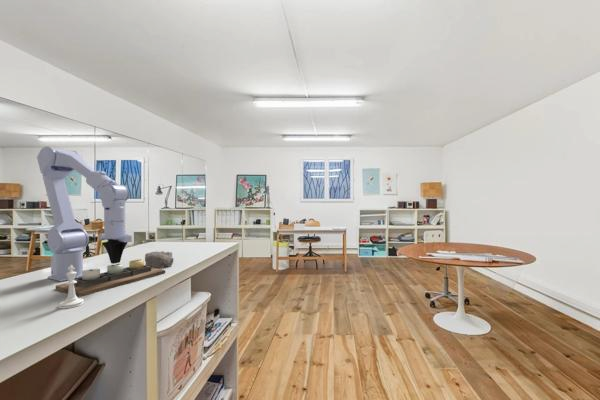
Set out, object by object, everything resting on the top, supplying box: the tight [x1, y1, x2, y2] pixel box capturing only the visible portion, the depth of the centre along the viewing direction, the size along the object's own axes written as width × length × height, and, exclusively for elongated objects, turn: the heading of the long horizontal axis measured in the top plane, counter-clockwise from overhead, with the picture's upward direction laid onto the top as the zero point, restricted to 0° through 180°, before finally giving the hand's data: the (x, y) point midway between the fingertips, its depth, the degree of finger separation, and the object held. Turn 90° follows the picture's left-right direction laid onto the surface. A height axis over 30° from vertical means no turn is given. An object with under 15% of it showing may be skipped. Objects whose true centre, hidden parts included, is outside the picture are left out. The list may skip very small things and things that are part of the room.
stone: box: [144, 250, 174, 268], centre depth 108 cm, size 8×10×6 cm
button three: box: [128, 258, 145, 269], centre depth 95 cm, size 4×4×3 cm
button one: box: [81, 268, 101, 280], centre depth 83 cm, size 4×4×3 cm
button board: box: [55, 264, 166, 297], centre depth 89 cm, size 14×26×3 cm, turn 153°
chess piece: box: [58, 265, 85, 310], centre depth 69 cm, size 5×5×10 cm
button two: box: [106, 263, 124, 275], centre depth 89 cm, size 4×4×3 cm
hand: (115, 262), depth 89 cm, fingers closed
